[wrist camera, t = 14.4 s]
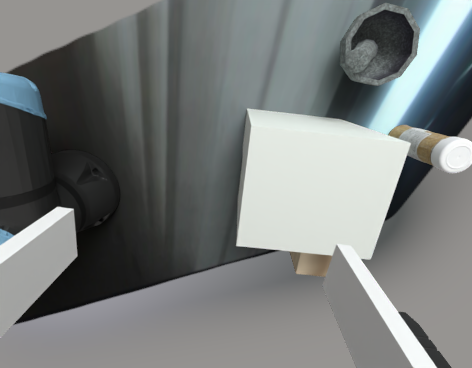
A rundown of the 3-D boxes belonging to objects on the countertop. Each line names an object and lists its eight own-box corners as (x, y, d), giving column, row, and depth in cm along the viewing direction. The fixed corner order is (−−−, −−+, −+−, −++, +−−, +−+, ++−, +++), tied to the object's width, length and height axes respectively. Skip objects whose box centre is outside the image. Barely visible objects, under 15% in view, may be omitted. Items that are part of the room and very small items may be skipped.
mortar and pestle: (384, 5, 39) (442, -28, 28) (397, 68, 42) (455, 62, 30) (311, 40, 41) (338, 23, 29) (329, 98, 44) (359, 102, 32)
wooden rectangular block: (284, 233, 53) (295, 273, 42) (299, 161, 47) (316, 184, 36) (308, 236, 53) (326, 276, 42) (326, 164, 48) (352, 188, 36)
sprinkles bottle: (417, 137, 45) (485, 156, 33) (395, 155, 47) (452, 181, 34) (402, 118, 44) (466, 131, 32) (380, 138, 46) (433, 157, 33)
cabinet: (238, 185, 49) (236, 245, 31) (247, 108, 44) (251, 125, 26) (321, 193, 50) (370, 259, 31) (339, 118, 45) (411, 143, 26)
